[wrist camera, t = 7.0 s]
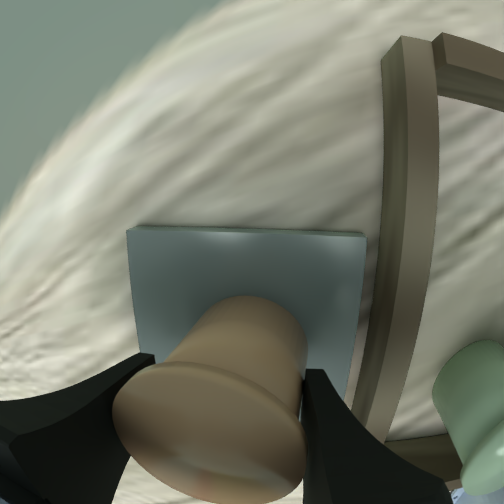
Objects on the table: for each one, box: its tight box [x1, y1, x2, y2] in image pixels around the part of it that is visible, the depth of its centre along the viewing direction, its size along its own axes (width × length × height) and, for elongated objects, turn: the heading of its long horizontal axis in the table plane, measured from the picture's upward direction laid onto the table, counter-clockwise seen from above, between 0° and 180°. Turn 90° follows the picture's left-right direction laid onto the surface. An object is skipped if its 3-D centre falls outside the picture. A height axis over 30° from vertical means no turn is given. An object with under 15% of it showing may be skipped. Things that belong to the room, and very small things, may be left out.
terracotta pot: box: [112, 296, 308, 504], centre depth 10 cm, size 6×6×6 cm
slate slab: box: [126, 226, 367, 421], centre depth 14 cm, size 10×10×1 cm
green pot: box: [432, 340, 504, 496], centre depth 11 cm, size 6×6×6 cm
